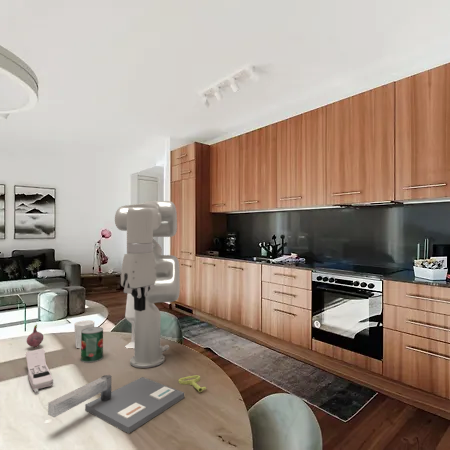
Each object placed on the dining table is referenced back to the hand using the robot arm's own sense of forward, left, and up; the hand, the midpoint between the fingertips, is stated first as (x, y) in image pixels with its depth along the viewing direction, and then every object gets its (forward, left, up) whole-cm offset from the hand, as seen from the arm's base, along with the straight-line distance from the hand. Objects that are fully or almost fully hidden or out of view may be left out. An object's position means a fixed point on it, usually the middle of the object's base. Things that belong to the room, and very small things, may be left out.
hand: (139, 309), depth 93 cm
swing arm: (+16, -3, -24) cm, 28 cm away
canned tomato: (-9, -37, -26) cm, 46 cm away
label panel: (+3, +3, -25) cm, 26 cm away
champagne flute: (-27, -35, -26) cm, 51 cm away
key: (-14, +9, -26) cm, 31 cm away
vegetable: (-2, -67, -26) cm, 72 cm away
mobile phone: (+11, -37, -26) cm, 47 cm away
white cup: (-15, -52, -26) cm, 60 cm away
